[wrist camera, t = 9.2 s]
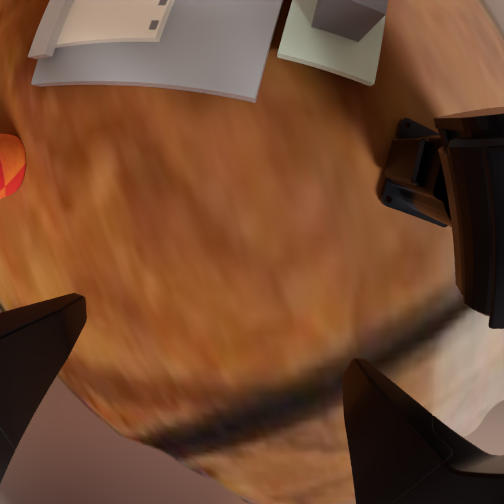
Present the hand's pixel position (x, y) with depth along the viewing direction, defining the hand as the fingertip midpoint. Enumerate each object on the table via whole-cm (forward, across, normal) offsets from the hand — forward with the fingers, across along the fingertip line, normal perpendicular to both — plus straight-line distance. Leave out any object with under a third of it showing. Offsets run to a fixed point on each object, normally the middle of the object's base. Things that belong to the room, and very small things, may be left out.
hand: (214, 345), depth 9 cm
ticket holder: (+12, +10, -17) cm, 23 cm away
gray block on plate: (+10, -3, -17) cm, 20 cm away
